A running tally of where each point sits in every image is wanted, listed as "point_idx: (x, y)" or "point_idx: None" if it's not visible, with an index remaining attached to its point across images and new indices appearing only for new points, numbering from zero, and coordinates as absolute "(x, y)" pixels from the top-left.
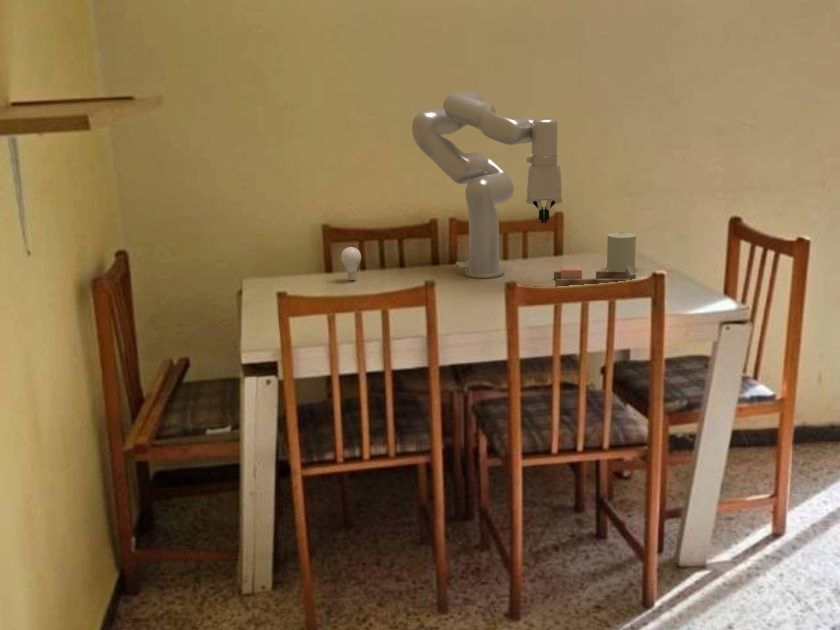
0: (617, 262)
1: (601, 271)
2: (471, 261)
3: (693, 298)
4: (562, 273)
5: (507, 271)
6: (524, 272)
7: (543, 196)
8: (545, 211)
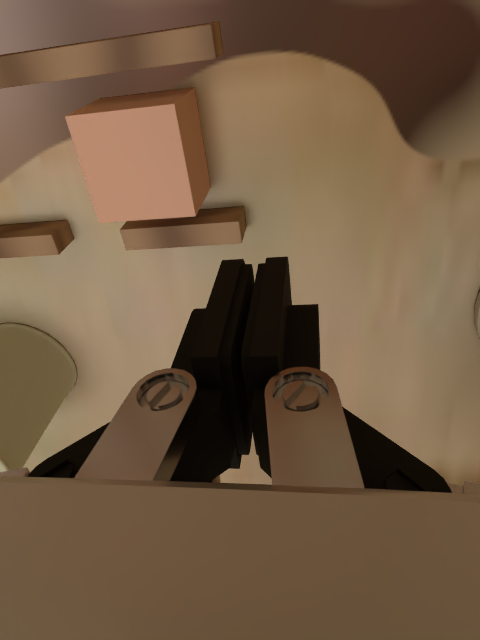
0: (5, 350)
1: (33, 243)
2: None
3: None
4: (175, 99)
5: (449, 344)
6: (376, 329)
7: (174, 575)
8: (215, 342)
